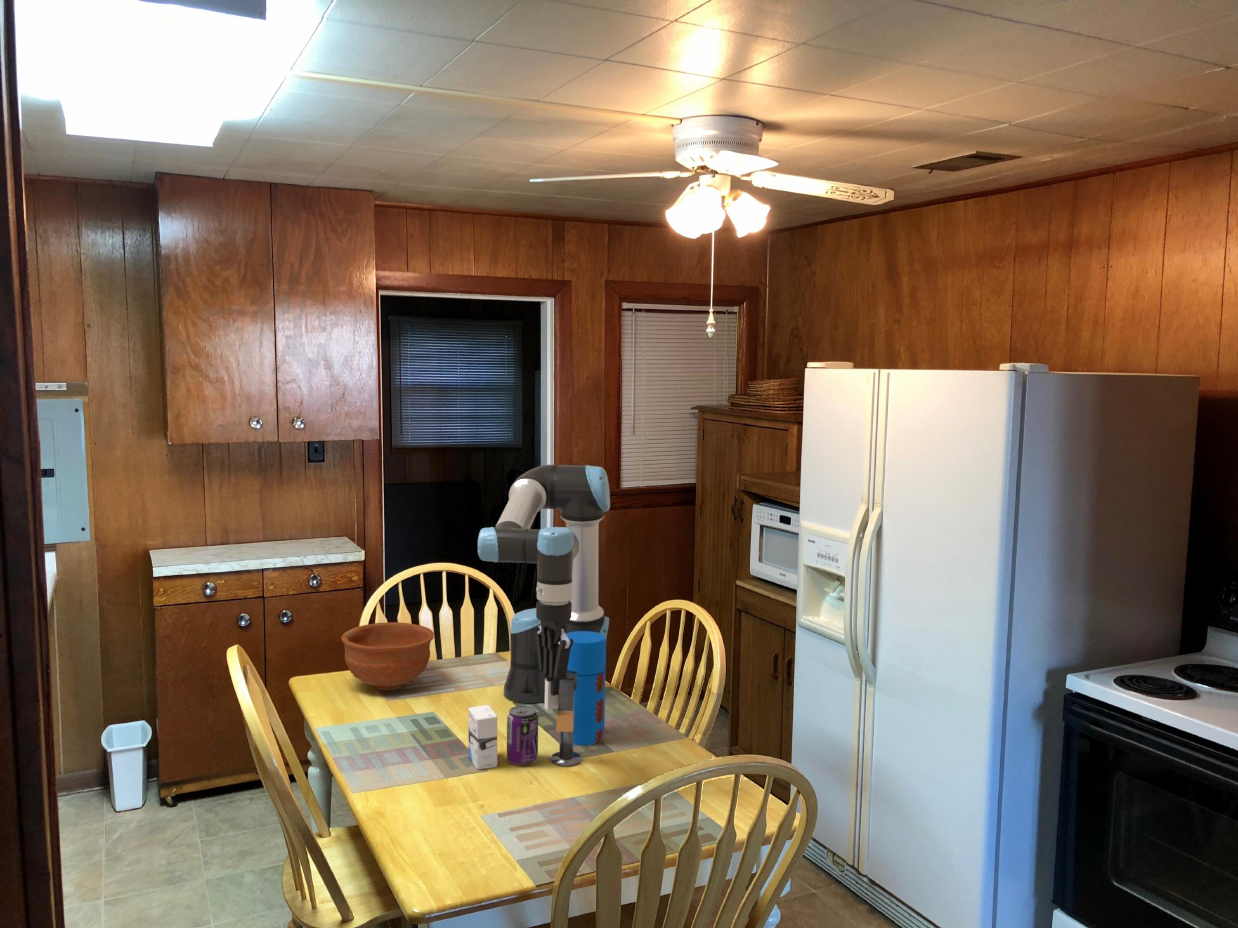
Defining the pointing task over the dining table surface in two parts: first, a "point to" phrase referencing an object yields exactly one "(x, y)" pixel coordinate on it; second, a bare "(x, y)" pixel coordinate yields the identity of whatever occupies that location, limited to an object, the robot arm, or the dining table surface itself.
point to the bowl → (387, 653)
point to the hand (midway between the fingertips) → (551, 707)
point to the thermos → (588, 685)
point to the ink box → (482, 736)
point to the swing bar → (566, 702)
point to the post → (566, 750)
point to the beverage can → (522, 735)
